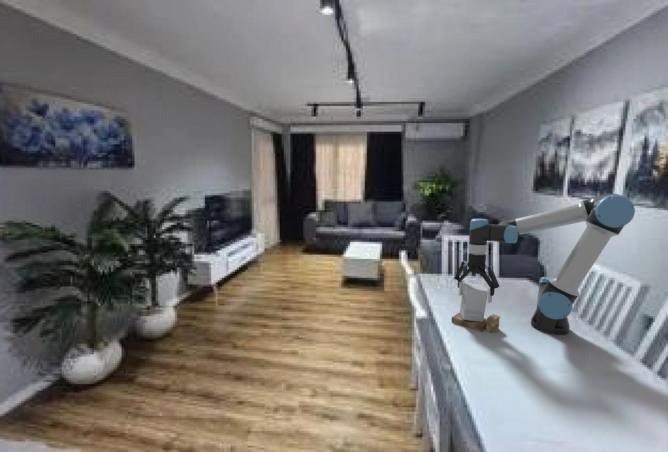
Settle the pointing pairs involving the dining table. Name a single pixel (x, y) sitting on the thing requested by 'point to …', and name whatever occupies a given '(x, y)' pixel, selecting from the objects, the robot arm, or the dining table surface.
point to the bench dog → (492, 323)
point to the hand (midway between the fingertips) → (474, 298)
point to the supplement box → (473, 302)
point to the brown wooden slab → (469, 322)
